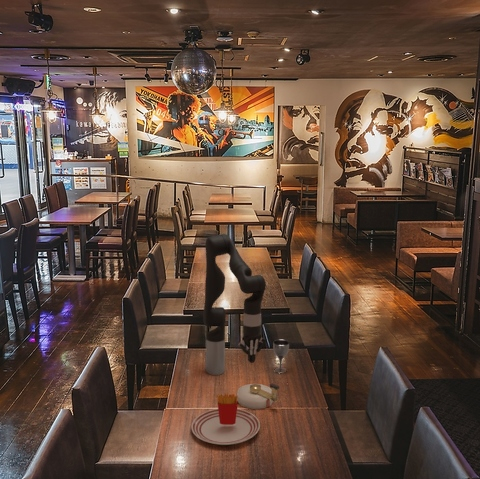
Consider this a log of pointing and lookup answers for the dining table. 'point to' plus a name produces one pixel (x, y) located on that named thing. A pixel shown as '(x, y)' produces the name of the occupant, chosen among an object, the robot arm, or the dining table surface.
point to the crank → (257, 390)
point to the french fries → (227, 409)
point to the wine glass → (280, 352)
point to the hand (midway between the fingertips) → (251, 362)
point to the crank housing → (253, 397)
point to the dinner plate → (225, 428)
